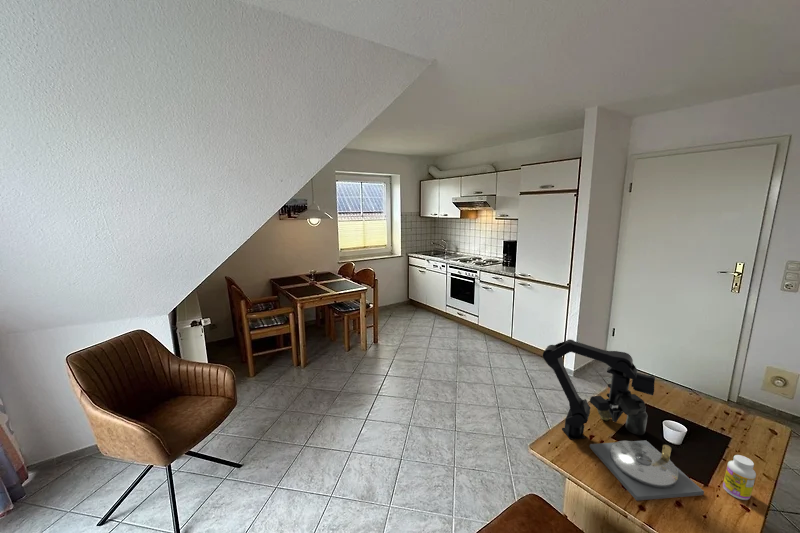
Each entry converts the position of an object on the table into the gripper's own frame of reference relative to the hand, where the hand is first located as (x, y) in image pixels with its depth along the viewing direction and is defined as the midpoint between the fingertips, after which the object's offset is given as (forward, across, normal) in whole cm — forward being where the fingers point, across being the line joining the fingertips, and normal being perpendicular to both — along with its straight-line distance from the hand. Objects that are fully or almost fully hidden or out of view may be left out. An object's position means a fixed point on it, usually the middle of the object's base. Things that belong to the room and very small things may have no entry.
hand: (614, 421), depth 130 cm
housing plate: (+12, +4, -11) cm, 17 cm away
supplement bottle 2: (+12, +28, -23) cm, 38 cm away
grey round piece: (+10, +4, -11) cm, 16 cm away
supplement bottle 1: (+12, +18, +9) cm, 23 cm away
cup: (+12, +10, +17) cm, 23 cm away
